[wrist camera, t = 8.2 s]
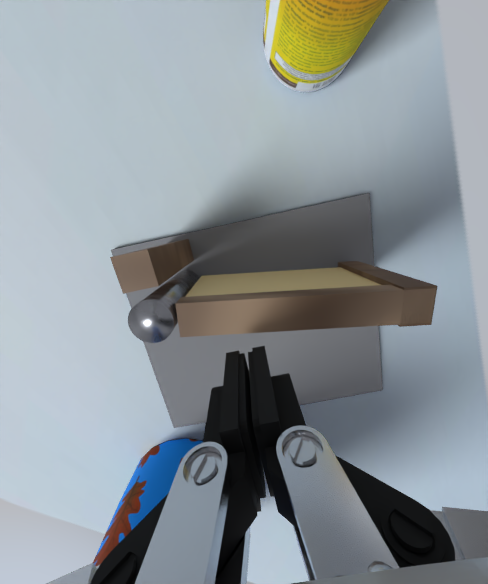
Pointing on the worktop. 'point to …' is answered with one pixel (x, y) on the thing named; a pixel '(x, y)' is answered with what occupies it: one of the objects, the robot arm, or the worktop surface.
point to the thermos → (145, 490)
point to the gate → (282, 302)
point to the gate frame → (279, 345)
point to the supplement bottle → (315, 38)
